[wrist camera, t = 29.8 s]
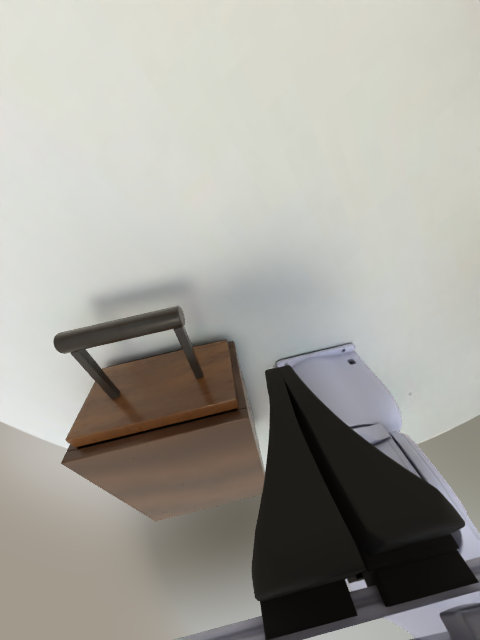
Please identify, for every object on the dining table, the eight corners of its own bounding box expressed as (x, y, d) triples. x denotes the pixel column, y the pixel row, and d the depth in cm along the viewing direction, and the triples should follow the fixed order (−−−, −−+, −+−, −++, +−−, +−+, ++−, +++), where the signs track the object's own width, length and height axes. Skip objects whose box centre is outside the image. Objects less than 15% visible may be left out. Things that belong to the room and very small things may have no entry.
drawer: (54, 311, 17) (-20, 380, 11) (209, 276, 17) (214, 326, 11) (162, 442, 29) (153, 504, 24) (249, 421, 30) (260, 477, 24)
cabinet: (105, 370, 22) (60, 463, 15) (233, 340, 22) (249, 417, 15) (165, 444, 31) (155, 521, 24) (254, 422, 32) (269, 492, 25)
